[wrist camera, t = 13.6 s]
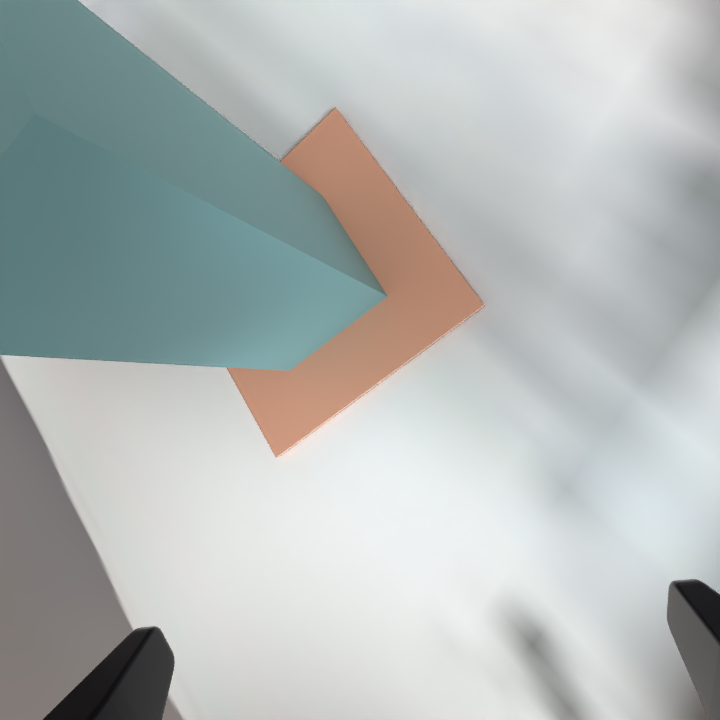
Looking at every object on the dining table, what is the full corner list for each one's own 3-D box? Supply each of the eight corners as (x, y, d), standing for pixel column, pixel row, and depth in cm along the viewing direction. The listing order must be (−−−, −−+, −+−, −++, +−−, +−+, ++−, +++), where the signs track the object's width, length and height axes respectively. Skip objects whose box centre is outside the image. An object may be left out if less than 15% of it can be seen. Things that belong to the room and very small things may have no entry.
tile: (485, 306, 17) (483, 304, 17) (279, 456, 20) (275, 457, 19) (338, 111, 19) (335, 107, 19) (176, 269, 22) (171, 267, 22)
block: (387, 296, 18) (35, 114, 6) (288, 370, 19) (-154, 346, 7) (322, 196, 19) (-76, -122, 7) (235, 273, 21) (-219, 116, 9)
